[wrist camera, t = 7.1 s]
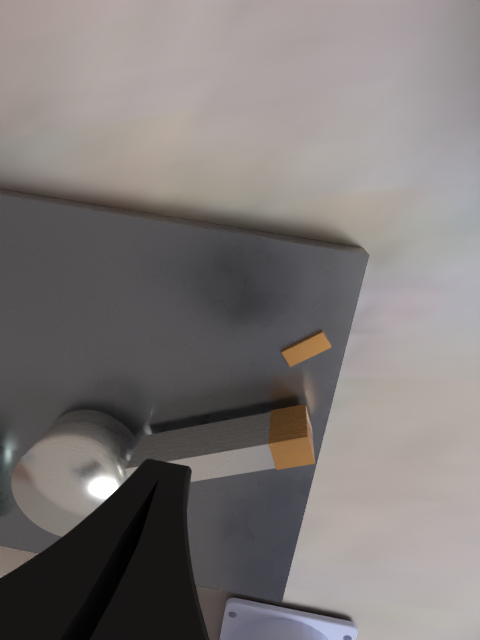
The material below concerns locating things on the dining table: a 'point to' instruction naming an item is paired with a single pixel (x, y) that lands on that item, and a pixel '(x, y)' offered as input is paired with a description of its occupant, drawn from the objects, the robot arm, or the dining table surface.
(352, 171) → the dining table surface
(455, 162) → the dining table surface
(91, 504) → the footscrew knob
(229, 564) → the grey flat square slab
